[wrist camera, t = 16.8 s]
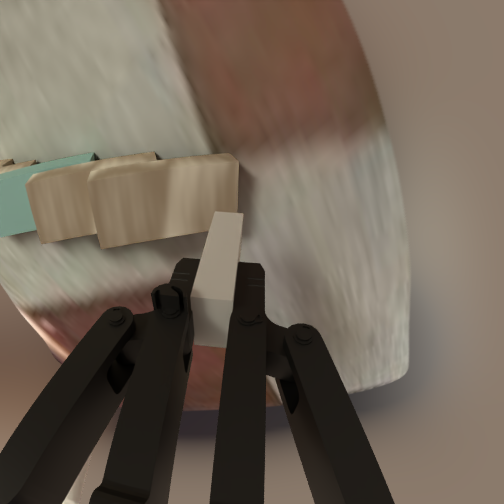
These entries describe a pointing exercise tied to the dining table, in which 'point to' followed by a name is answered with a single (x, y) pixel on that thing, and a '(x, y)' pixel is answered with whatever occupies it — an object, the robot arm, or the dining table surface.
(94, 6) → the dining table surface
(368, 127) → the dining table surface
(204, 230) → the tile
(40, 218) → the tile
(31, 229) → the tile
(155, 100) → the dining table surface
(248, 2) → the dining table surface
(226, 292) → the robot arm
